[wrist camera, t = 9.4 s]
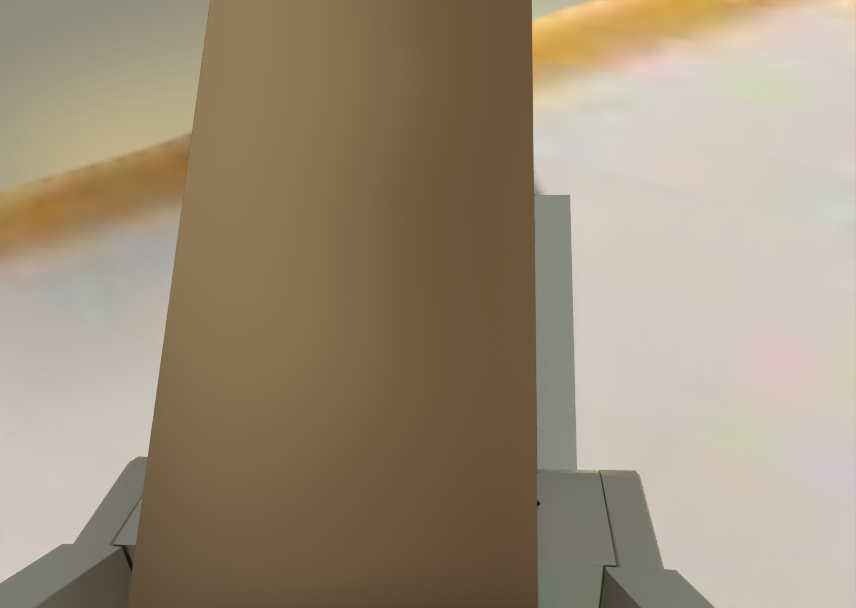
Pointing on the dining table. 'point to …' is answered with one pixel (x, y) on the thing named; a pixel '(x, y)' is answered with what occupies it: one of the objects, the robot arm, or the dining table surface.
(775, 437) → the dining table surface
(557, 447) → the track
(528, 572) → the brown rectangular block
